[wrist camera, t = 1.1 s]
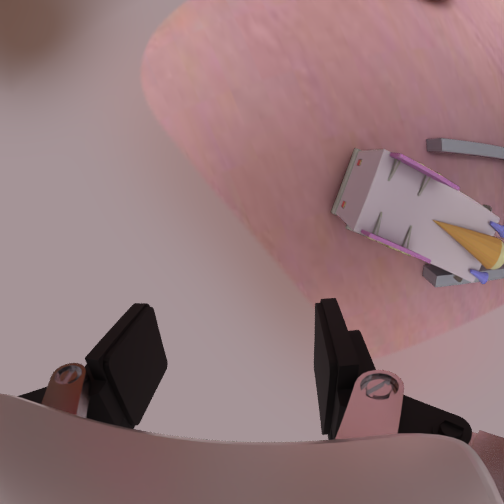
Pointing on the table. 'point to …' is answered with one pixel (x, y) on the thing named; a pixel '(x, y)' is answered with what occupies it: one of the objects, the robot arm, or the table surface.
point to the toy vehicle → (419, 214)
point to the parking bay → (432, 272)
